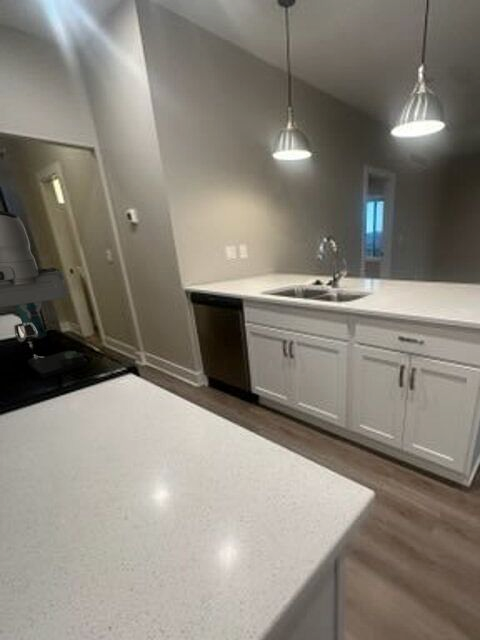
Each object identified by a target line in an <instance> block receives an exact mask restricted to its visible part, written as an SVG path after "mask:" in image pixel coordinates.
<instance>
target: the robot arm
mask: <svg viewBox="0 0 480 640" xmlns="http://www.w3.org/2000/svg"><path fill="white" fill-rule="evenodd" d="M31 251H32V250H31V242H30V239H29V236H28V233H27V230H26V228H25V226H24V223H23V221H22V220H21V219H20V217H19V216H18V215H17V214H15V213H13V212H9V211H6V210H5V211H3V210H0V309H3V308H7V307H8V308H9V307H16V305H19V306H20V308H21V309H23V310H24V311H25V312H26V313H27V315H28V318H29V319H31V318H36V317H41V318H42V315H41V309H42V306H43V304H42V302H46V301H47V302H48V301H53V300H60V299H66V298H67V297H68V295H69V293H68V289H67V287H66V285H65V282H64V275H63V272H62V271H61V270H60V269H58V268H55V267H49V268H38V265H37V262H36V259H35V257H34V255H33V254H32V252H31ZM28 303H34V304H35V305H36V306H37V307H36V310H35V311H32V312H29V311H28V310H27V309H26V308H27V305H26V304H28Z"/></svg>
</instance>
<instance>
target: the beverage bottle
mask: <svg viewBox="0 0 480 640" xmlns="http://www.w3.org/2000/svg"><path fill="white" fill-rule="evenodd" d="M26 305H27V308H26V309H27V310H28V311H29V312H32V311H35V310H36V307H37V306H36V305H35V304H34V303H28V304H26ZM15 307H16V310H17V312H18V315H19V319H20V321H21V323H29V322H31V323H32V324H33V325H34V326H35V328H36V330H37V332H38V339H37V340H40V339H43V338H45V337H47V336H48V333H47V329H46V327H45V323H44V321H43V317H42V316H41V317H36V318H31V319H29V318H28V315H27V313H26V312H25V311H24V310H23V309H21V308H20V306H19V305H15Z"/></svg>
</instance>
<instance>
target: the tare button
mask: <svg viewBox="0 0 480 640" xmlns="http://www.w3.org/2000/svg"><path fill="white" fill-rule="evenodd" d="M70 351H71V352H67V353H65V354H64V355H65V358H66V359H71V358H75V357H77V356H78V355H77V353H78V352H77V351H76V350H70Z"/></svg>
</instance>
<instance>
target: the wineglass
mask: <svg viewBox="0 0 480 640" xmlns="http://www.w3.org/2000/svg"><path fill="white" fill-rule="evenodd" d="M13 327H14V335H15V338H16V339H17V341H18V342H20V343H21V344H24V345H25V344H26V345H29V348H30V349H31V351H32V354H33V357H31V358H29V359H28V360H27V362H28V361H32V360H36V359H39V358H43V357H45V356H42V355H39V356H38V355H37V354H36V352H35V349H34V345H33V344H34V343H36V342H37V340H39V339H38V332H37V330H36V328H35V326H34V325H33V324H32V323H31V322H29V323H22V322H21V323H17V324H15V325H13Z"/></svg>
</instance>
